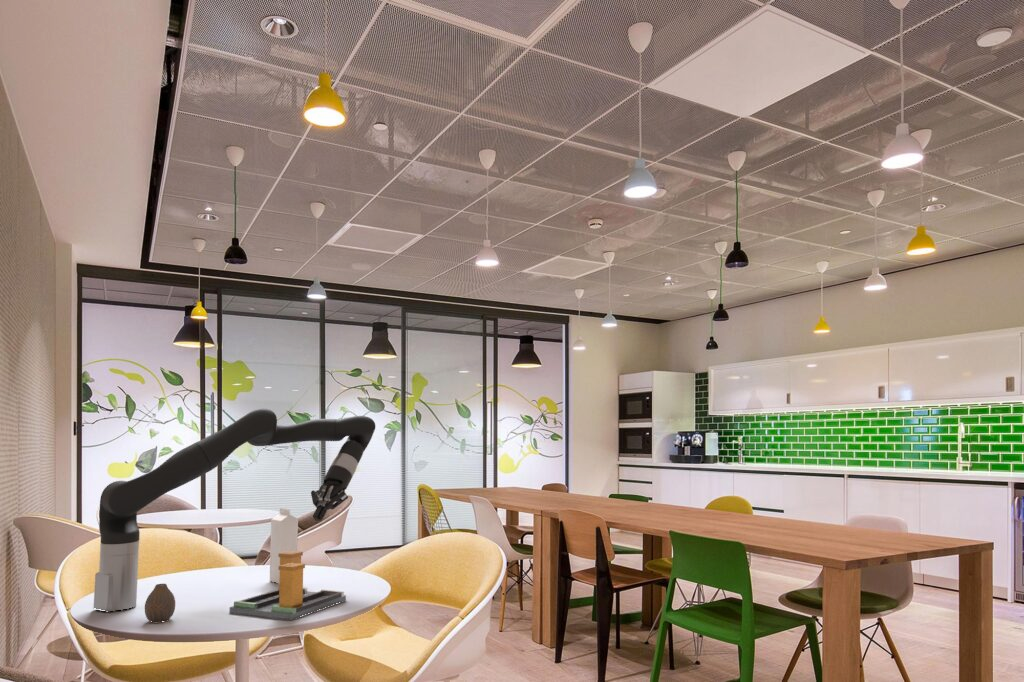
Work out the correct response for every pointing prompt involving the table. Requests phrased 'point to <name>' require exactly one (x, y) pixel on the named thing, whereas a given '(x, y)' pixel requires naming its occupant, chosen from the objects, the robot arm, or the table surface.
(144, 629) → the table surface
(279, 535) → the milk
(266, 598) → the twin pillar base
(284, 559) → the orange capped square pillar
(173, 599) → the vase
